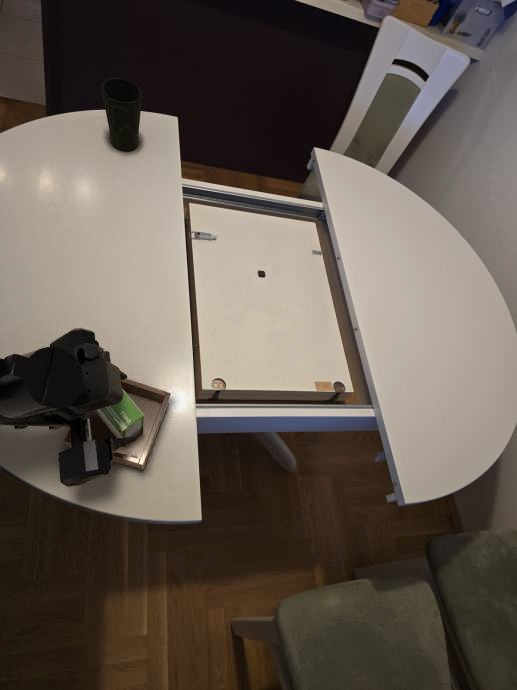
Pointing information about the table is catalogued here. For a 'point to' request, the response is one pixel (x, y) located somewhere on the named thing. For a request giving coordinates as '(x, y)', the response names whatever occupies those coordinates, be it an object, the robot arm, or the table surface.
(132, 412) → the ink box
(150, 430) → the holder
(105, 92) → the cup
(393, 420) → the table surface
